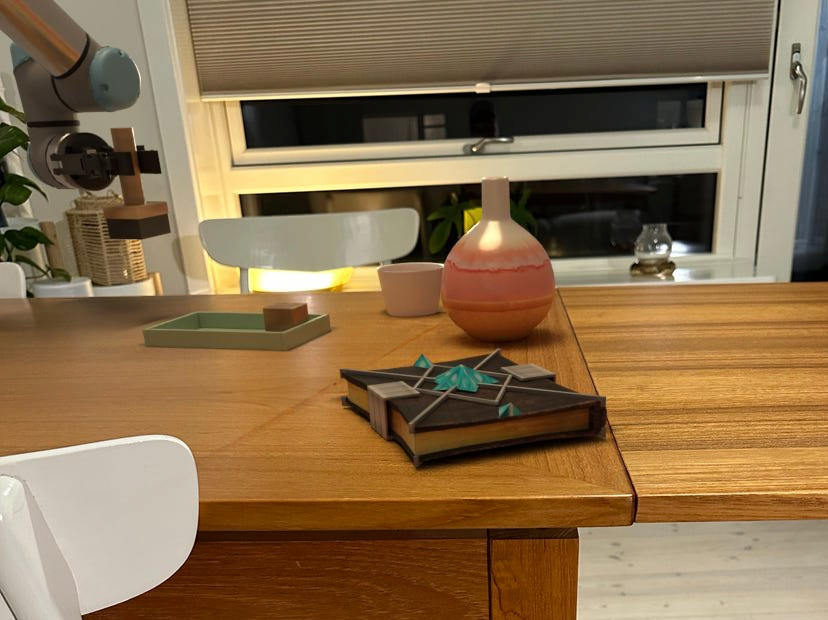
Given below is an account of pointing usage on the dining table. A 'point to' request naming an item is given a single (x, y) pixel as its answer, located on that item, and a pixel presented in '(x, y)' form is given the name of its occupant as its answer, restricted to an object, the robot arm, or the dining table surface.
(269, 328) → the brown cube
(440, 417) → the book
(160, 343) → the tray
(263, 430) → the dining table surface
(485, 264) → the vase
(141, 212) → the brush
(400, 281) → the pink cup
